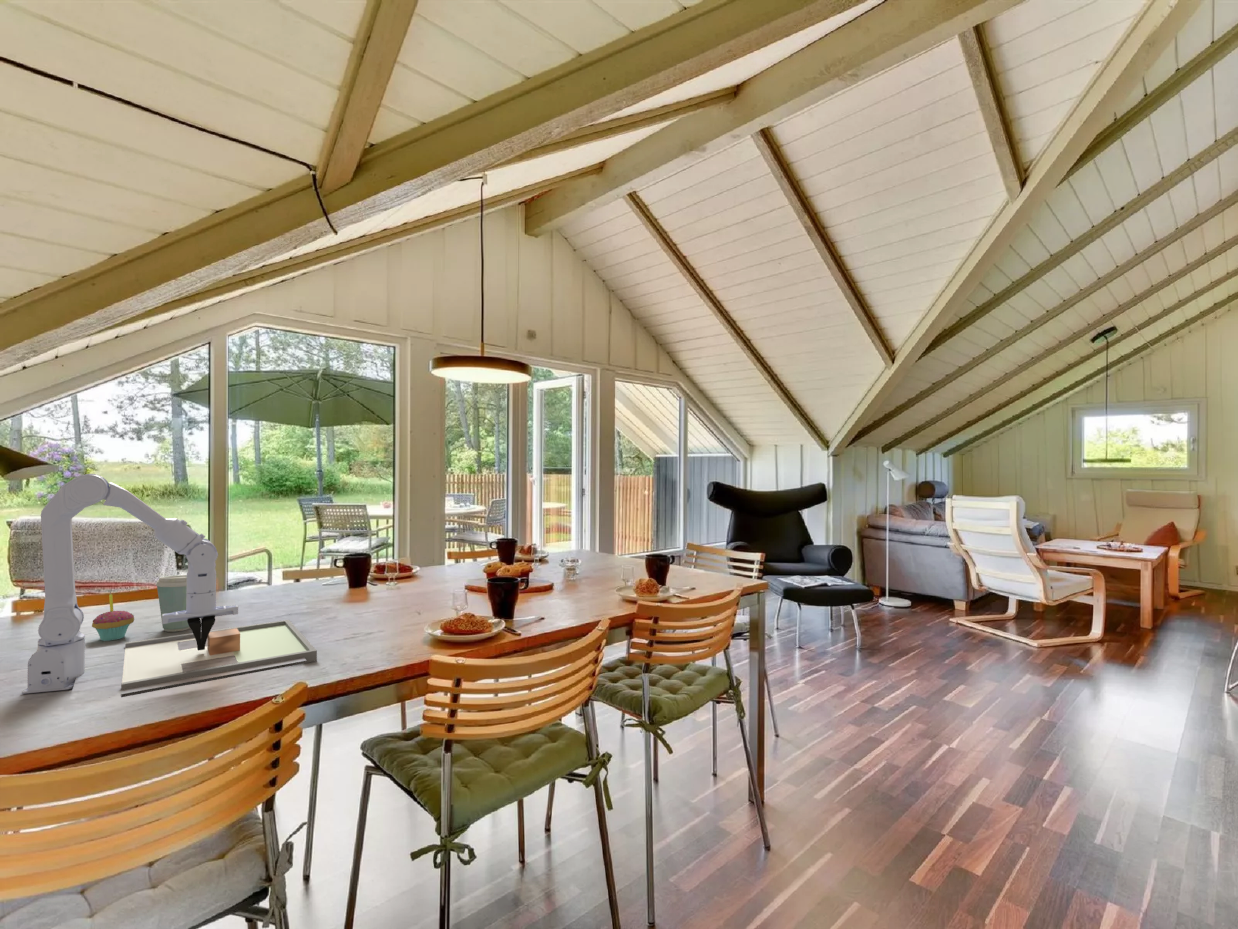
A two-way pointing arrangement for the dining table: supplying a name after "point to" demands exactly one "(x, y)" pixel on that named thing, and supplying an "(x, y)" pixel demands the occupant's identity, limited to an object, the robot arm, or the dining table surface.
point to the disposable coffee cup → (173, 599)
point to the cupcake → (112, 623)
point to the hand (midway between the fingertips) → (201, 649)
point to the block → (223, 641)
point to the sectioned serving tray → (256, 648)
